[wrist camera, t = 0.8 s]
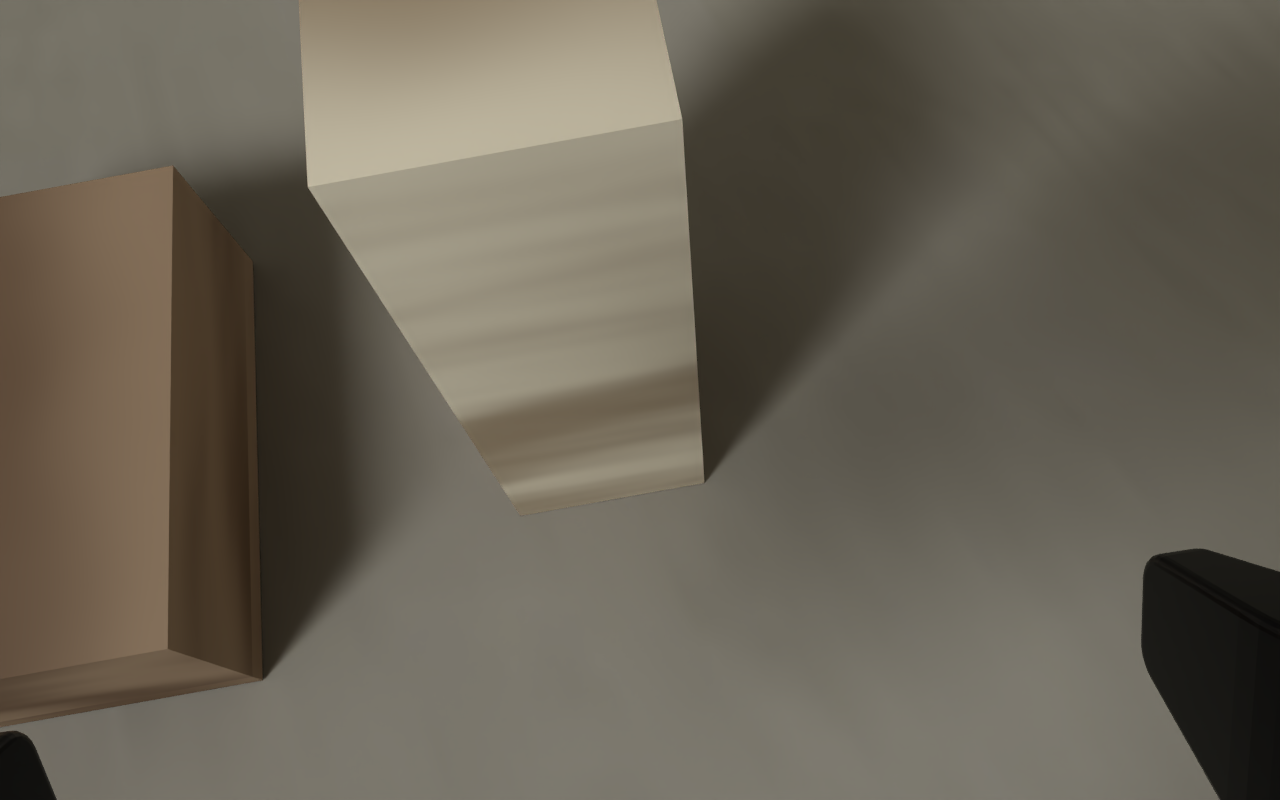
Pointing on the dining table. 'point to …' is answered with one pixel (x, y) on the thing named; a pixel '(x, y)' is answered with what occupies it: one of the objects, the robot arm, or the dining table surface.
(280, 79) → the dining table surface
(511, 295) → the cream wooden block
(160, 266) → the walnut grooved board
